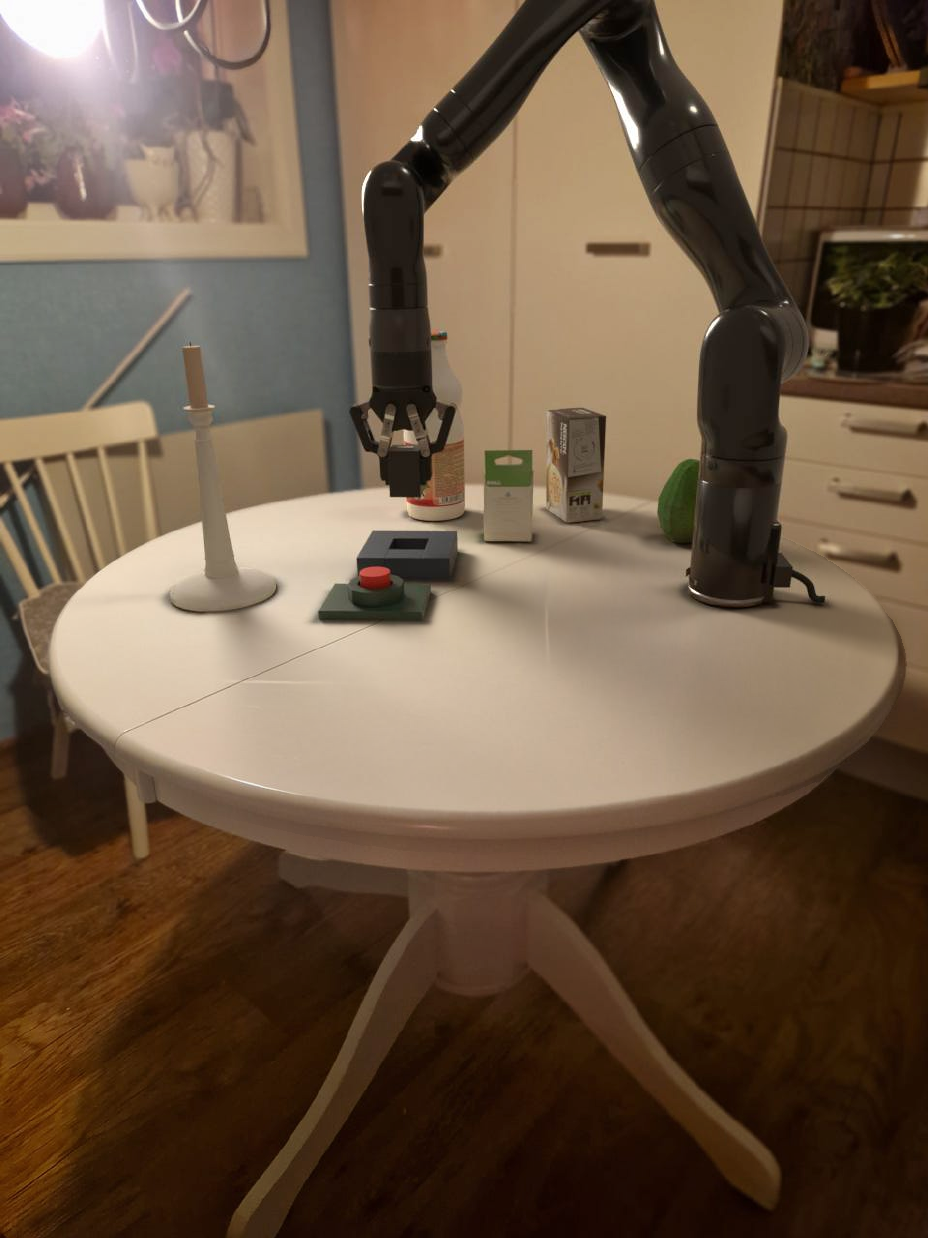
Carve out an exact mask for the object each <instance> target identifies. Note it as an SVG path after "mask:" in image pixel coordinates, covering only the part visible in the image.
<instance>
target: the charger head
mask: <svg viewBox="0 0 928 1238" xmlns="http://www.w3.org/2000/svg"><path fill="white" fill-rule="evenodd" d="M420 457H421V452H420V449H419V446H418V445H404V444H391V447H390V449H389V450H388V470H389V485H388V488H389V489H388V491H389V497H390V498H406V497H421V495H422V493H423V491H424V485H421V470H420Z"/></svg>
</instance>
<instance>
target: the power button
mask: <svg viewBox="0 0 928 1238" xmlns="http://www.w3.org/2000/svg"><path fill="white" fill-rule="evenodd" d="M359 573H360V587H361V588H365V589H381V588H387V587H389V586H391V576H390V570H389V569H388V568H385V567H368V568H364V569H362V570H361V571H360V572H359Z"/></svg>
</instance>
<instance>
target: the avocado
mask: <svg viewBox="0 0 928 1238" xmlns="http://www.w3.org/2000/svg"><path fill="white" fill-rule="evenodd" d="M699 464H700V459H696V458H688V459H684V460H682V461H681V462H679V463H678V464H677V465H676V467H675V468H674V469H673V471H672V473H671V474H670V476H669V478H668V479H667V480H666V482H665V484H664V486H663V488H662V490H661V492H660V495H659V497H658V501H657V502H658V503H657V509H656V510H657V511H656V514H657V518H658V522H659V527H660V529H661V531H662V533H663V534H664V535H665V537H666V538H667V539H669V541H672V542H674V543H678V544H682V545H683V544H690V543H691V544H692V542H693V530H694V519H695V508H696V497H697V486H698V475H699Z"/></svg>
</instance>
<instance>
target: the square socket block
mask: <svg viewBox="0 0 928 1238" xmlns="http://www.w3.org/2000/svg"><path fill="white" fill-rule="evenodd" d="M458 547H459V545H458V530H372V531H371V532H370V534H369V536H368V537H367V539H366V540H365V542H364V544H363V546H362V548H361V549H360V551H359V553H358V555H357V556H356V570H357V572H356V573H357V577H358V576H360V573H359V572H360V571H361V570H362V569H364V568H368V567H385V568H388V569H389V570H390V574H391V575H395V576H399V577H400V578H401V579H402V580H404V581H405V580H406V581H407V580H410V581H412V580H417V581H420V580H421V581H451V579H452V575H453V571H454V568H455V567H454V566H455V562H456V558H457V555H458V549H459V548H458Z"/></svg>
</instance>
